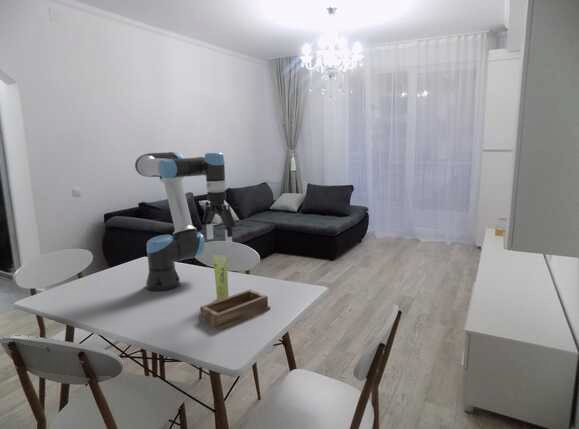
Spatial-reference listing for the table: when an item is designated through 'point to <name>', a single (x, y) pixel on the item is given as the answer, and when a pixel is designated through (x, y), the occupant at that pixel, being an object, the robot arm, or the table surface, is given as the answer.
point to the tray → (234, 309)
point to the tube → (221, 276)
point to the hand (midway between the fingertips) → (219, 241)
